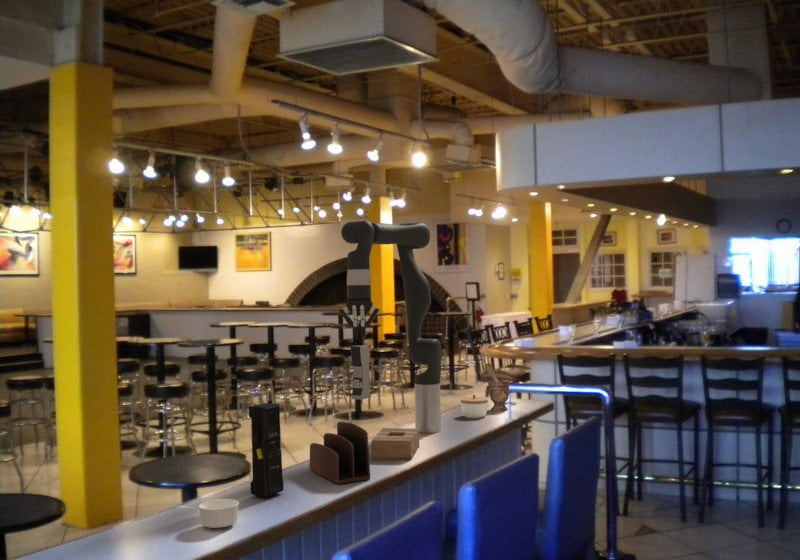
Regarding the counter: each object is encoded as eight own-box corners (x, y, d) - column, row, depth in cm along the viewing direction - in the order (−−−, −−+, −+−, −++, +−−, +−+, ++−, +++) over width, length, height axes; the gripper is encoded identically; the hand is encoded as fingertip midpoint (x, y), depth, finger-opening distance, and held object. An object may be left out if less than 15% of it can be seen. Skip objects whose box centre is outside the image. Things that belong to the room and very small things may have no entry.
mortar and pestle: (478, 412, 320) (477, 364, 321) (488, 409, 327) (487, 362, 328) (503, 414, 314) (502, 365, 314) (513, 411, 321) (512, 363, 321)
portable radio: (265, 498, 194) (264, 398, 195) (247, 496, 197) (245, 397, 197) (285, 491, 201) (283, 394, 201) (266, 488, 204) (265, 393, 204)
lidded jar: (474, 415, 314) (474, 392, 314) (493, 418, 305) (493, 394, 305) (455, 418, 307) (454, 394, 307) (474, 422, 298) (473, 397, 299)
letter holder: (340, 466, 230) (339, 418, 230) (370, 479, 212) (369, 428, 212) (309, 470, 225) (308, 421, 225) (337, 485, 207) (336, 432, 208)
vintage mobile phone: (351, 399, 245) (349, 319, 246) (360, 397, 250) (358, 319, 250) (361, 399, 244) (359, 320, 244) (370, 397, 248) (368, 319, 248)
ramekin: (192, 528, 172) (191, 508, 172) (209, 516, 180) (209, 497, 180) (229, 529, 170) (229, 509, 170) (245, 518, 179) (245, 499, 179)
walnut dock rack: (383, 446, 256) (382, 428, 256) (419, 446, 254) (419, 428, 254) (371, 460, 236) (371, 440, 236) (411, 460, 234) (410, 440, 234)
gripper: (381, 283, 250) (383, 337, 250) (340, 284, 252) (342, 338, 252) (377, 283, 242) (378, 339, 242) (335, 284, 244) (336, 339, 244)
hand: (360, 338), depth 247 cm, fingers closed
